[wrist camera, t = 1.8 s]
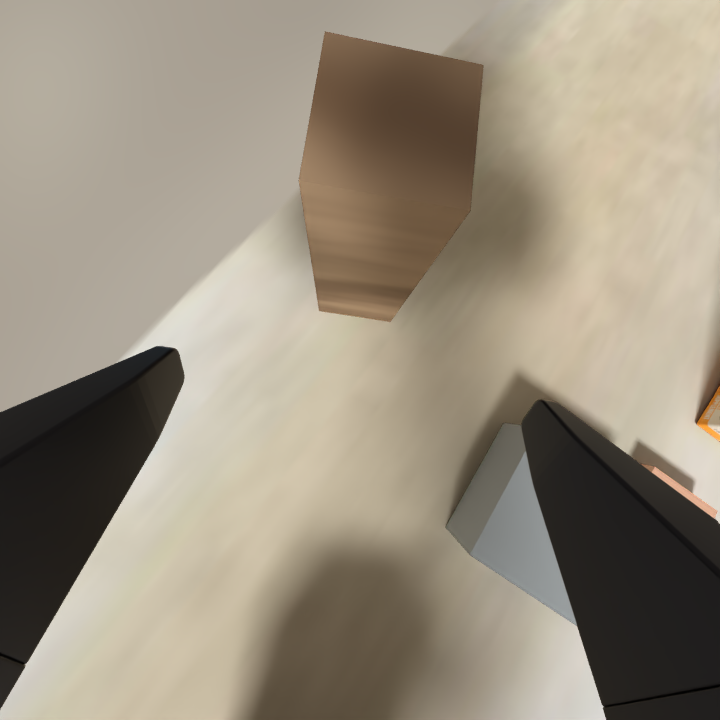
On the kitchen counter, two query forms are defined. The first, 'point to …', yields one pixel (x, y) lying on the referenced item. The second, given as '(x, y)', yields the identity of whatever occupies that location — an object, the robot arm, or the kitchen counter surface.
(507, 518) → the pedestal
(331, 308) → the walnut block
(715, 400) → the supplement box
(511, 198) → the kitchen counter surface
